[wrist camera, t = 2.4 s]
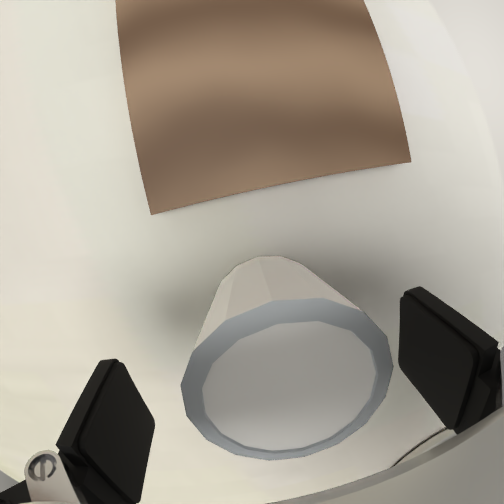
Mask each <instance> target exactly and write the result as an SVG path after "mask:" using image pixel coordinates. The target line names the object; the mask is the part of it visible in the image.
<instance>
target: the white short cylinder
mask: <svg viewBox="0 0 504 504" xmlns="http://www.w3.org/2000/svg"><path fill="white" fill-rule="evenodd" d="M392 370H393V362H392V358H391V353H390V348H389V344H388V339H387V336H386V335H385V334H384V333H383V332H382V331H381V330H380V329H379V328H378V327H377V325H376V324H375V323H374V322H373V321H372V320H371V319H370V318H369V317H368V316H367V315H366V314H365V313H364V312H363V311H362V310H361V309H359V308H358V307H357V306H356V305H354V304H353V303H352V302H350V301H349V300H348V299H346V298H345V297H344V296H343V295H341V294H340V293H339V292H337V291H336V290H335V289H333V288H332V287H331V286H330V285H328V284H327V283H326V282H324V281H323V280H322V279H320V278H319V277H318V276H317V275H315V274H314V273H313V272H311V271H310V270H309V269H307V268H306V267H305V266H303V265H302V264H301V263H298V262H295V261H293V260H290V259H287V258H285V257H282V256H260V257H255V258H253V259H251V260H248V261H246V262H244V263H241V264H239V265H237V266H236V267H235V268H234V269H233V270H232V271H231V272H230V273H229V274H228V275H227V276H226V277H225V278H224V279H223V280H222V281H221V282H220V285H219V287H218V290H217V292H216V295H215V297H214V300H213V302H212V304H211V307H210V309H209V312H208V314H207V317H206V319H205V322H204V324H203V327H202V329H201V332H200V334H199V337H198V339H197V342H196V344H195V347H194V349H193V352H192V355H191V357H190V360H189V363H188V366H187V368H186V371H185V374H184V377H183V380H182V382H181V390H182V395H183V400H184V405H185V410H186V415H187V417H188V418H189V419H190V421H191V422H192V423H193V424H194V425H195V427H196V428H197V429H198V430H199V431H200V433H201V434H202V435H203V436H204V437H205V438H206V440H208V441H210V442H212V443H214V444H216V445H218V446H219V447H221V448H223V449H225V450H227V451H229V452H231V453H233V454H235V455H240V456H245V457H251V458H257V459H263V460H279V459H289V458H298V457H305V456H308V455H311V454H313V453H316V452H319V451H321V450H324V449H326V448H329V447H332V446H334V445H336V444H338V443H340V442H341V441H343V440H344V439H345V438H347V437H348V436H350V435H351V434H352V433H354V432H355V431H356V430H358V429H359V428H360V427H362V426H363V425H364V424H366V422H367V421H368V420H369V418H370V417H371V416H372V415H373V413H374V412H375V411H376V409H377V408H378V406H379V405H380V404H381V402H382V401H383V399H384V398H385V396H386V393H387V389H388V386H389V382H390V378H391V374H392Z"/></svg>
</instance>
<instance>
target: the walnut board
mask: <svg viewBox="0 0 504 504" xmlns="http://www.w3.org/2000/svg"><path fill="white" fill-rule="evenodd" d="M116 15H117V26H118V37H119V46H120V55H121V63H122V70H123V78H124V85H125V91H126V97H127V104H128V110H129V115H130V121H131V126H132V132H133V137H134V142H135V147H136V152H137V157H138V162H139V166H140V171H141V175H142V180H143V184H144V188H145V192H146V197H147V201H148V205H149V209H150V213H151V215H154V214H157V213H161V212H165V211H169V210H173V209H176V208H180V207H184V206H188V205H192V204H196V203H200V202H204V201H208V200H212V199H217V198H221V197H225V196H229V195H234V194H238V193H243V192H247V191H252V190H256V189H261V188H265V187H270V186H275V185H280V184H285V183H290V182H295V181H300V180H305V179H310V178H315V177H321V176H326V175H332V174H338V173H343V172H349V171H355V170H361V169H368V168H374V167H380V166H387V165H394V164H401V163H408V162H411V157H410V152H409V146H408V141H407V136H406V131H405V127H404V122H403V118H402V114H401V110H400V106H399V102H398V98H397V94H396V91H395V87H394V83H393V80H392V77H391V73H390V70H389V67H388V64H387V61H386V58H385V55H384V52H383V49H382V46H381V43H380V40H379V37H378V35H377V32H376V30H375V27H374V24H373V22H372V19H371V17H370V14H369V12H368V10H367V7H366V5H365V3H364V0H116Z"/></svg>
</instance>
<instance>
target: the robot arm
mask: <svg viewBox="0 0 504 504" xmlns="http://www.w3.org/2000/svg"><path fill="white" fill-rule="evenodd" d="M497 346H498V341H496V340H495V339H494V338H492V337H491V336H490V335H488V334H487V333H486V332H484V331H483V330H482V329H480V328H479V327H478V326H476V325H475V324H474V323H472V322H471V321H470V320H468V319H467V318H465V317H464V316H463V315H461V314H460V313H458V312H457V311H456V310H454V309H453V308H451V307H450V306H449V305H447V304H446V303H444V302H443V301H441V300H440V299H439V298H437V297H436V296H434V295H433V294H431V293H430V292H428V291H427V290H425V289H424V288H422V287H416V288H413V289H410V290H407V291H405V292H404V295H403V297H401V299H400V334H399V355H398V363H399V366H400V368H401V370H402V371H403V373H404V374H405V375H406V376H407V377H408V379H409V380H410V381H411V382H412V384H413V385H414V386H415V388H416V389H417V390H418V391H419V393H420V394H421V395H422V396H423V398H424V399H425V400H426V401H427V403H428V404H429V405H430V407H431V408H432V409H433V411H434V412H435V413H436V414H437V416H438V417H439V418H440V420H441V421H442V422H443V424H444V425H445V426H446V427H447V430H445V431H443V432H441V433H439V434H437V435H436V436H434V437H432V438H431V439H429V440H428V441H426V442H425V443H423V444H422V445H420V446H419V447H417V448H416V449H415V450H413V451H412V452H411V453H409V454H408V455H407V456H406V457H404V458H403V459H402V460H401V461H400V462H398V463H397V464H396V465H395V466H394V467H391V468H389V469H387V470H384V471H381V472H379V473H376V474H374V475H371V476H368V477H366V478H363V479H360V480H357V481H354V482H351V483H348V484H345V485H342V486H339V487H335V488H332V489H328V490H325V491H321V492H318V493H314V494H310V495H306V496H301V497H297V498H293V499H288V500H283V501H278V502H272V503H267V504H504V347H503V348H502V350H501V351H500V350H499V349H498V348H497ZM154 429H155V421H154V418H153V416H152V414H151V413H150V411H149V409H148V408H147V406H146V404H145V402H144V401H143V399H142V397H141V395H140V393H139V392H138V390H137V388H136V386H135V384H134V382H133V381H132V379H131V377H130V375H129V373H128V371H127V369H126V367H125V365H124V364H123V363H122V362H119V361H118V360H117V359H108V360H101V361H100V362H99V363H98V365H97V367H96V368H95V370H94V372H93V374H92V376H91V377H90V379H89V381H88V383H87V385H86V387H85V388H84V390H83V392H82V394H81V396H80V398H79V400H78V401H77V403H76V405H75V407H74V409H73V411H72V413H71V415H70V417H69V419H68V421H67V423H66V425H65V427H64V429H63V431H62V433H61V435H60V437H59V439H58V441H57V443H56V446H57V447H58V448H59V450H60V451H59V453H58V454H57V453H55V452H54V451H50V450H44V451H40V452H38V453H36V454H35V455H33V456H32V457H31V458H30V459H29V460H28V462H27V464H26V466H25V470H24V473H25V479H26V480H24V481H22V482H20V483H18V484H16V485H14V486H13V487H11V488H9V489H7V490H5V491H3V492H1V493H0V504H136V503H139V502H140V500H141V494H142V489H143V483H144V478H145V473H146V467H147V462H148V457H149V452H150V447H151V443H152V438H153V433H154Z"/></svg>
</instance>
